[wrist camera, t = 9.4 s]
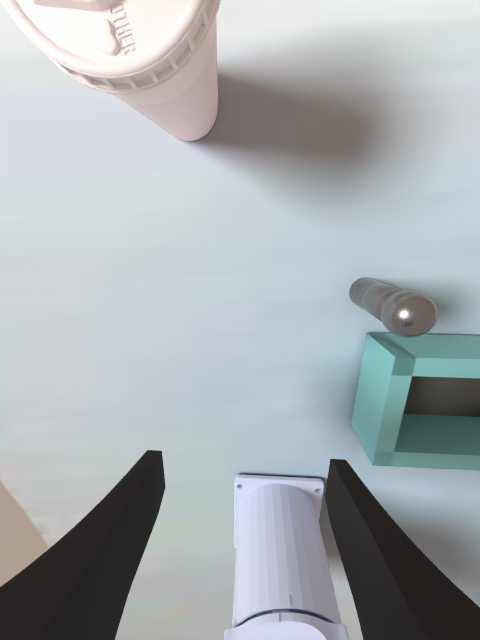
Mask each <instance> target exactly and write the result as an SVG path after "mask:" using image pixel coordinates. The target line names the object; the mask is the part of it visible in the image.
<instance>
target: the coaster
mask: <svg viewBox="0 0 480 640" xmlns="http://www.w3.org/2000/svg"><path fill="white" fill-rule="evenodd" d="M439 335H447V334H439ZM403 414H417V415H443V416H468V417H480V378H454V377H424V376H412V379H411V383H410V387H409V391H408V395H407V399H406V404H405V408H404V412H403Z"/></svg>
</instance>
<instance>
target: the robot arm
mask: <svg viewBox="0 0 480 640" xmlns="http://www.w3.org/2000/svg"><path fill="white" fill-rule="evenodd" d="M239 484H241V485H239ZM317 488H318V489H317ZM164 490H165V479H164V469H163V459H162V451H153V450H148V451H146V452H145V454H144V455H143V456H142V457H141V458H140V459H139V460H138V462H137V463H136V464H135V465H134V466H133V467H132V468H131V469H130V471H129V472H128V473H127V474H126V475H125V476H124V477H123V478H122V479H121V481H120V482H119V483H118V484H117V485H116V486H115V487H114V488H113V489H112V490H111V491H110V492H109V493H108V494H107V495H106V496H105V498H104V499H103V500H102V501H101V502H100V503H99V504H97V505H96V506H95V507H94V508H93V509H92V510H91V511H90V512H89V513H88V514H87V515H86V516H85V517H84V518H83V519H82V520H81V521H80V522H79V523H78V524H77V525H76V526H75V527H74V528H72V529H71V530H70V531H69V532H68V533H67V534H66V535H65V536H64V537H62V538H61V539H60V540H59V541H58V542H57V543H56V544H54V545H53V546H52V547H51V548H50V549H48V550H47V551H46V552H45V553H43V554H42V555H41V556H40V557H39V558H37V559H36V560H35V561H34V562H33V563H31V564H30V565H29V566H28V567H26V568H25V569H24V570H22V571H21V572H20V573H19V574H17V575H16V576H15V577H13V578H12V579H11V580H9V581H8V582H7V583H5V584H4V585H3V586H1V587H0V640H115V636H116V633H117V630H118V626H119V623H120V620H121V616H122V613H123V610H124V606H125V603H126V600H127V596H128V594H129V591H130V588H131V585H132V582H133V579H134V577H135V574H136V571H137V569H138V566H139V563H140V561H141V558H142V555H143V553H144V550H145V548H146V545H147V542H148V540H149V537H150V534H151V532H152V529H153V526H154V524H155V521H156V518H157V516H158V512H159V509H160V505H161V502H162V498H163V494H164ZM323 490H324V483H323V481H322V480H321V479H318V478H298V477H279V476H259V475H237V476H236V477H235V487H234V547H235V548H236V566H235V585H234V603H233V622H232V628H227V629H225V635H224V640H349V636H348V632H347V628H346V625H345V624H342V622H341V617H340V613H339V609H338V604H337V600H336V596H335V591H334V587H333V582H332V578H331V574H330V569H329V565H328V561H327V556H326V552H325V547H324V543H323V539H322V534H321V530H320V526H319V518H320V511H321V504H322V497H323ZM325 498H326V503H327V508H328V513H329V518H330V523H331V527H332V530H333V533H334V537H335V540H336V543H337V547H338V550H339V553H340V556H341V560H342V563H343V566H344V569H345V573H346V576H347V579H348V582H349V586H350V589H351V592H352V595H353V599H354V603H355V606H356V610H357V614H358V618H359V622H360V626H361V631H362V635H363V639H364V640H480V607H478V606H477V605H476V604H475V603H474V602H473V601H472V600H471V599H470V598H469V597H468V596H466V595H465V594H464V593H463V592H462V591H461V590H460V589H459V588H458V587H457V586H455V585H454V584H453V583H452V582H451V581H450V580H449V579H448V578H447V577H446V576H445V575H444V574H443V573H442V572H441V571H440V570H439V569H438V568H437V567H436V566H435V565H434V564H433V563H432V562H431V561H430V560H429V559H428V558H427V557H426V556H425V555H424V554H423V553H422V551H421V550H420V549H419V548H418V547H417V546H416V545H415V544H414V543H413V542H412V541H411V540H410V539H409V537H408V536H407V535H406V534H405V533H404V532H403V531H402V530H401V528H400V527H399V526H398V525H397V524H396V523H395V522H394V520H393V519H392V518H391V517H390V516H389V514H388V513H387V512H386V511H385V510H384V508H383V507H382V506H381V505H380V504H379V502H378V501H377V500H376V499H375V497H374V496H373V495H372V494H371V492H370V491H369V490H368V489H367V487H366V486H365V485H364V483H363V482H362V481H361V479H360V478H359V477H358V475H357V474H356V473H355V472H354V470H353V469H352V467H351V466H350V465H349V463H348V462H347V461H346V460H340V459H330V466H329V473H328V479H327V486H326V493H325Z"/></svg>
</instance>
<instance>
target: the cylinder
mask: <svg viewBox="0 0 480 640" xmlns="http://www.w3.org/2000/svg"><path fill="white" fill-rule="evenodd" d="M349 295H350V298H351V300H352V301H353V302H354V303H355V304H356V305H358V306H359V307H361V308H362V309H364V310H365V311H367V312H368V313H370V314H371V315H373V316H374V317H376V318H377V319H379V320H380V321H382V322H383V324H384V326H385V327H386V328H387V329H388V330H389V331H390V332H391V333H393V334H395V335H397V336H400V337H405V338H413V337H418V336H421V335H423V334H425V333H427V332H428V331H430V330H431V329H432V327H433V326H434V325H435V323H436V321H437V317H438V310H437V306H436V304H435V302H434V301H433V300H432V299H431V298H430V297H429V296H428V295H426V294H425V293H422V292H420V291H416V290H402V289H399V288H396V287H393V286H391V285H388V284H385V283H382V282H379V281H377V280H374V279H371V278H361V279H358V280H357V281H355V282H354V283H353V284H352V286H351V288H350V292H349Z"/></svg>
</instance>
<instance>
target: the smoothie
mask: <svg viewBox="0 0 480 640" xmlns="http://www.w3.org/2000/svg"><path fill="white" fill-rule="evenodd" d="M1 2H2V3H3V5H4V7H5V8H6V10H7V11H8V13H9V14H10V16H11V17H12V19H13V20H14V21H15V23H16V24H17V25H18V27H19V28H20V29H21V30H22V31H23V32H24V34H25V35H26V36H27V37H28V38H29V39H30V40H31V41H32V42H33V43H34V44H35V45H36V46H37V47H38V48H40V49H41V50H42V51H43V52H44V53H45V54H46V55H47V56H48V57H49V58H50V59H51V60H52V61H53V62H54V63H55V64H56V65H57V66H58V67H59V68H60V69H61V70H62V71H63V72H64V73H66V74H68V75H69V76H71V77H72V78H74V79H76V80H77V81H79V82H80V83H82V84H83V85H85V86H87V87H89V88H92V89H96V90H99V91H103V92H106V93H110V94H113V95H115V96H116V97H118V98H119V99H121V100H122V101H124V102H125V103H126V104H128V105H129V106H131V107H132V108H134V109H135V110H136V111H138V112H139V113H141V114H142V115H144V116H145V117H146V118H148V119H149V120H151V121H152V122H154V123H155V124H156V125H158V126H159V127H161V128H162V129H164V130H165V131H166V132H168V133H169V134H171V135H172V136H174V137H175V138H177V139H179V140H182V141H195V140H198V139H200V138H202V137H204V136H205V135H206V134H207V133H208V132H209V131H210V130H211V128H212V127H213V125H214V123H215V121H216V117H217V113H218V74H217V25H216V16H217V12H218V9H219V5H220V0H1Z"/></svg>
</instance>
